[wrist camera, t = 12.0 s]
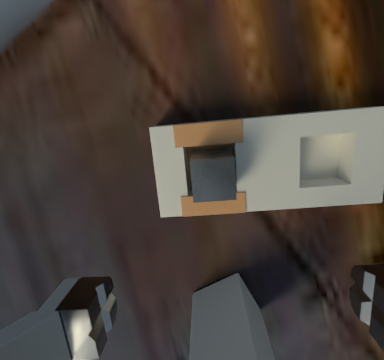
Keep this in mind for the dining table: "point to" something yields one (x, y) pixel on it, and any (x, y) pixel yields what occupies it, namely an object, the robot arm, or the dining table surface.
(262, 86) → the dining table surface
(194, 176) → the dark gray block
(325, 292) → the dining table surface
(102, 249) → the dining table surface
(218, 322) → the milk carton
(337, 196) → the socket rail
